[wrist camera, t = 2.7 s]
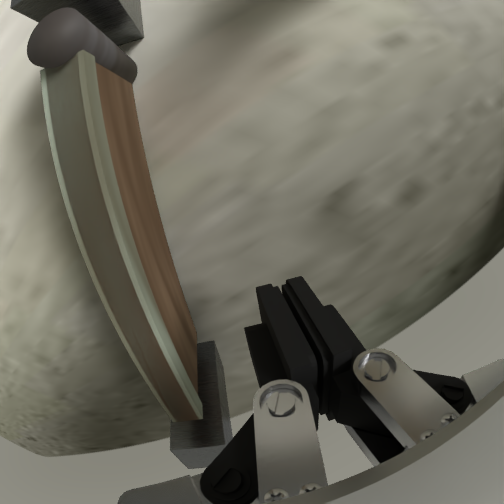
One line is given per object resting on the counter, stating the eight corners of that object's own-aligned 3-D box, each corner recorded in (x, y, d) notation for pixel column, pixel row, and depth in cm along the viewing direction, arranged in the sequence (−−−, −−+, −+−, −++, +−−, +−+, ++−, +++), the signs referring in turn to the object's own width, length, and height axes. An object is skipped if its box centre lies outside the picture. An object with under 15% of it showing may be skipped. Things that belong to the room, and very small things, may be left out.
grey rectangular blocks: (139, -3, 10) (98, -84, 2) (223, 367, 21) (236, 463, 13) (91, 14, 9) (21, -46, 2) (186, 373, 21) (188, 468, 13)
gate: (135, 52, 11) (81, -3, 4) (202, 332, 18) (207, 426, 12) (87, 69, 11) (9, 38, 4) (163, 338, 18) (154, 431, 11)
